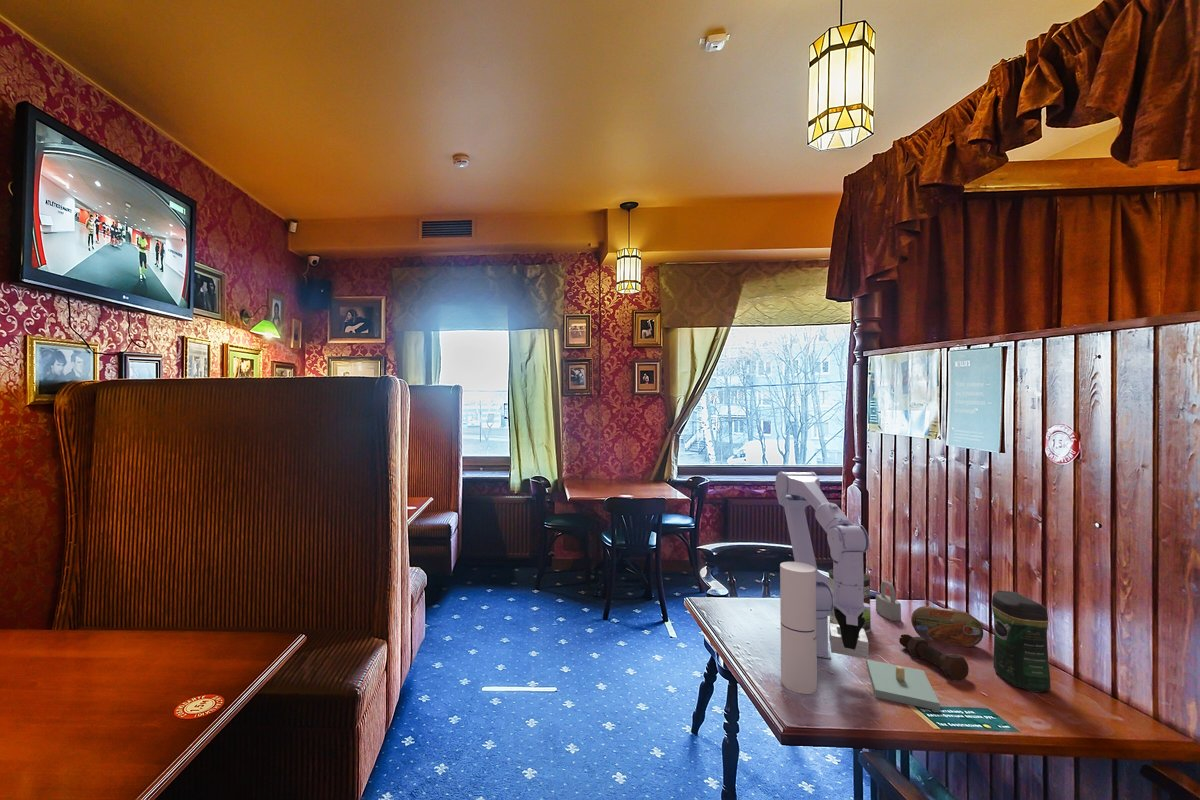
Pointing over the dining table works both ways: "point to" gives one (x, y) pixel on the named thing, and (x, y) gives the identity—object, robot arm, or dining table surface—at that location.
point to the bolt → (936, 657)
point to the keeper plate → (902, 685)
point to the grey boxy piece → (839, 648)
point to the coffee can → (866, 600)
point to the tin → (947, 626)
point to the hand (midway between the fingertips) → (849, 645)
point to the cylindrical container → (798, 627)
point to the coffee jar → (1021, 641)
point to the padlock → (888, 603)
